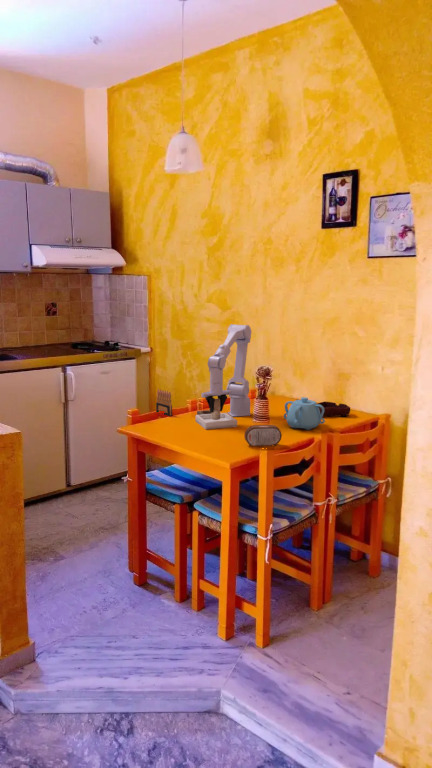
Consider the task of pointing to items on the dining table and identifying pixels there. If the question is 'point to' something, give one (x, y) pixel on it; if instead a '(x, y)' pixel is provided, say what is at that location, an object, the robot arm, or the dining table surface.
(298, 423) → the decorative pot
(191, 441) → the dining table surface
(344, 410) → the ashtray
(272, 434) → the tin
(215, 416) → the dowel
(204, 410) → the frame
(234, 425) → the tray
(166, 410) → the ammunition clip
